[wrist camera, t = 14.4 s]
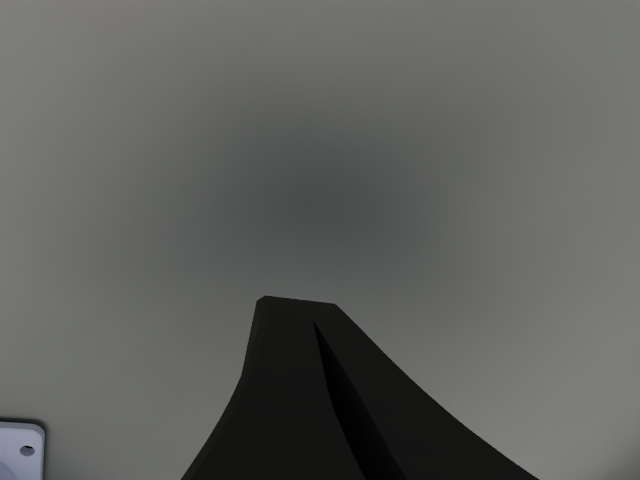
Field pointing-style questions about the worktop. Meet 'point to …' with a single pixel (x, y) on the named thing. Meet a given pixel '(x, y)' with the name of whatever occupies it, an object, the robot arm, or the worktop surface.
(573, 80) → the worktop surface
